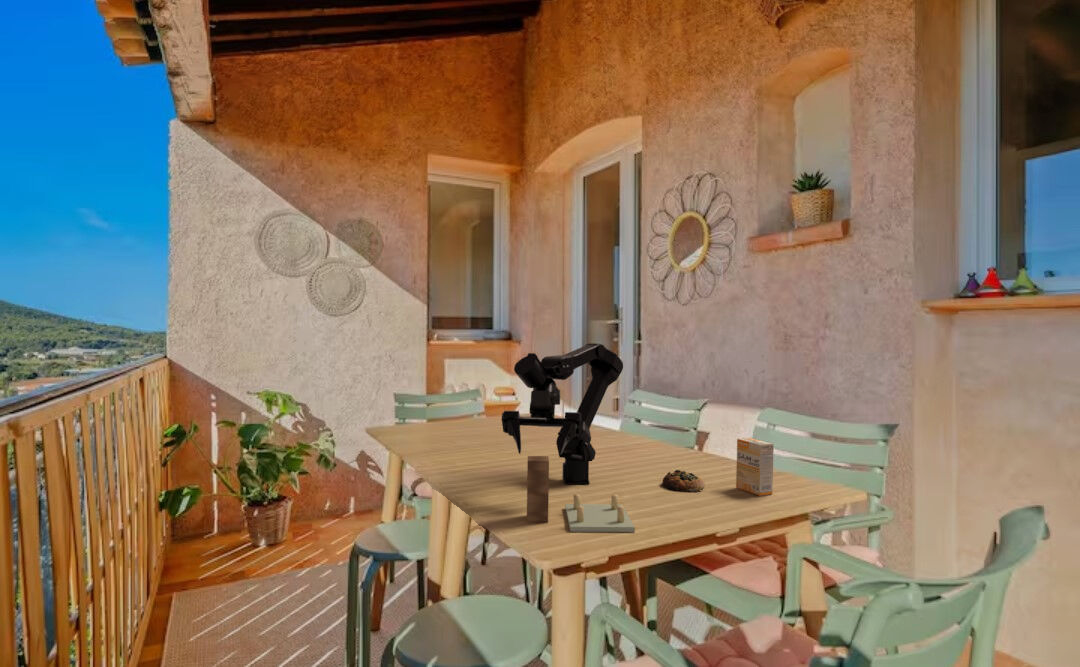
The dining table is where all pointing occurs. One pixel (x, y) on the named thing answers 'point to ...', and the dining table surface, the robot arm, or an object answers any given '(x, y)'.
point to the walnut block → (537, 489)
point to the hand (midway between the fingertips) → (539, 453)
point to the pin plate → (598, 517)
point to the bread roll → (683, 481)
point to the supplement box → (754, 466)
